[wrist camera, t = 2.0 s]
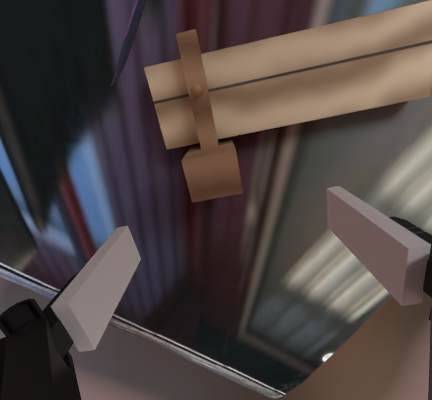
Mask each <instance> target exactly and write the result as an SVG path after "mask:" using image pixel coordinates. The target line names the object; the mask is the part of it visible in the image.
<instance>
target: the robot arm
mask: <svg viewBox="0 0 432 400" xmlns="http://www.w3.org/2000/svg"><path fill="white" fill-rule="evenodd" d="M327 216H328V227H329V228H330V229H331V230H332V232H333V233H334V234H335V235H336V236H337V237H338V238H339V239H340V240H341V241H342V242H343V243H344V244H345V246H346V247H347V248H348V249H349V250H350V251H351V252H352V253H353V254H354V255H355V256H356V257H357V258H358V260H359V261H360V262H361V263H362V264H363V265H364V266H365V267H366V268H367V269H368V270H369V271H370V272H371V273H372V275H373V276H374V277H375V278H376V279H377V280H378V281H379V282H380V283H381V284H382V285H383V286H384V287H385V289H386V290H387V291H388V292H389V293H390V294H391V295H392V296H393V297H394V298H395V299H396V300H397V301H398V303H399V304H400V305H402V306H404V305H411V304H418V303H422V299H423V292H426V293H427V294H428V295H429V296H430V297H431V298H432V235H430V234H428V233H427V232H424V231H423V230H422V229H420V228H418V227H416V226H415V225H413V224H412V223H410V222H408V221H407V220H404V219H400V218H397V217H387V216H385V215H384V214H382V213H381V212H379V211H377V210H376V209H374V208H373V207H371V206H370V205H368V204H367V203H365V202H363V201H362V200H360V199H359V198H357V197H356V196H354V195H353V194H351V193H349V192H348V191H346V190H345V189H343V188H342V187H340V186H336V187H331V188H327ZM140 260H141V258H140V255H139V253H138V250H137V248H136V245H135V243H134V240H133V238H132V235H131V232H130V230H129V227H128V226H123V227H118V228H116V229H115V231H114V232H113V233H112V234H111V235H110V237H109V238H108V239H107V240H106V241H105V243H104V244H103V245H102V246H101V247H100V248H99V250H98V251H97V252H96V253H95V254H94V256H93V257H92V258H91V259H90V260H89V262H88V263H87V264H86V265H85V266H84V267H83V269H82V270H81V271H80V272H78V273H77V274H76V275H75V276H73V277H72V278H71V279H70V280H69V281H68V282H67V283H66V284H65V286H64V288H62V289H61V290H60V291H59V294H57V295H56V296H55V297H54V298H53V299H52V301H51V302H50V303H49V304H48V305H47V306H46V308H45V309H44V310H43V311H42V310H41V309H40V307H39V306H38V304H37V303H36V301H35V300H34V299H27V300H23V301H21V302H19V303H16V304H15V305H13V306H11V307H10V308H8V309H7V310H6V311H5V312H3V313H2V314H1V315H0V329H1V330H2V332H3V333H4V334H5V336H6V337H4V338H1V339H0V400H81V397H80V392H79V387H78V383H77V379H76V374H75V369H74V364H73V360H72V356H71V355H70V353H69V352H68V351H69V349H70V348H71V346H72V344H73V343H74V345H75V346H76V348H77V349H78V351H79V352H82V351H89V350H95V349H96V346H97V345H98V343H99V341H100V339H101V337H102V335H103V333H104V331H105V329H106V327H107V325H108V323H109V321H110V319H111V317H112V315H113V313H114V311H115V309H116V307H117V305H118V303H119V301H120V299H121V298H122V296H123V294H124V292H125V290H126V288H127V286H128V284H129V282H130V280H131V278H132V276H133V274H134V272H135V270H136V268H137V266H138V264H139V262H140ZM429 320H430V321H431V331H430V333H431V334H430V363H429V393H428V400H432V305H431V310H430V316H429Z"/></svg>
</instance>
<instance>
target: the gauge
mask: <svg viewBox="0 0 432 400" xmlns="http://www.w3.org/2000/svg"><path fill="white" fill-rule="evenodd" d="M176 38H177V43H178V47H179V52H180V56H181V61H182V65H183V70H184V74H185V79H186V83H187V88H188V92H189V97H190V101H191V106H192V110H193V115H194V119H195V124H196V128H197V133H198V137H199V142H200V144H199V145H194V146H191V147H190V149H189V150H188V152H187V153H186V155H185V156H184V158H183V159H182V160H181V162H182V166H183V170H184V173H185V177H186V181H187V185H188V189H189V193H190V197H191V200H192V202H198V201H203V200H209V199H214V198H220V197H225V196H231V195H236V194H242V193H243V190H242V184H241V178H240V172H239V166H238V160H237V154H236V149H235V146H234V144H233V141H232V139H231V138H229V139H224V140H219V141H218V139H217V134H216V129H215V123H214V118H213V113H212V108H211V103H210V98H209V92H208V87H207V82H206V77H205V72H204V66H203V61H202V56H201V51H200V46H199V41H198V35H197V32H196V29H193V30H189V31H185V32H181V33H177V34H176Z"/></svg>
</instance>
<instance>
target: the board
mask: <svg viewBox="0 0 432 400" xmlns="http://www.w3.org/2000/svg"><path fill="white" fill-rule="evenodd" d="M201 56H202V61H203V66H204V72H205V77H206V82H207V87H208V92H209V98H210V103H211V108H212V113H213V118H214V123H215V129H216V134H217V139H222V138H227V137H232V136H237V135H242V134H247V133H252V132H257V131H262V130H267V129H272V128H277V127H282V126H287V125H292V124H297V123H302V122H306V121H311V120H316V119H321V118H326V117H331V116H336V115H341V114H346V113H351V112H356V111H361V110H366V109H371V108H376V107H381V106H386V105H391V104H396V103H401V102H406V101H411V100H416V99H420V98H425V97H430V93H431V86H432V0H430V1H426V2H422V3H417V4H413V5H409V6H405V7H400V8H396V9H392V10H388V11H383V12H379V13H375V14H370V15H366V16H362V17H358V18H353V19H349V20H345V21H341V22H336V23H332V24H328V25H324V26H319V27H315V28H311V29H306V30H302V31H298V32H294V33H289V34H285V35H281V36H277V37H272V38H268V39H264V40H260V41H255V42H251V43H247V44H242V45H238V46H234V47H230V48H225V49H221V50H217V51H213V52H208V53H204V54H201ZM144 70H145V73H146V77H147V80H148V84H149V88H150V91H151V95H152V98H153V102H154V106H155V109H156V113H157V117H158V120H159V124H160V127H161V131H162V135H163V138H164V142H165V146H166V149H167V150H168V149H173V148H178V147H183V146H188V145H193V144H197V143H200V142H199V137H198V133H197V128H196V124H195V119H194V115H193V110H192V106H191V101H190V97H189V92H188V88H187V83H186V79H185V74H184V70H183V65H182V61H181V59H178V60H174V61H170V62H166V63H161V64H157V65H153V66H149V67H144Z"/></svg>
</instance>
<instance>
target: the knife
mask: <svg viewBox="0 0 432 400" xmlns="http://www.w3.org/2000/svg"><path fill="white" fill-rule="evenodd" d="M145 1H146V0H136V1H135V4H134V7H133V10H132V13H131V16H130V20H129V23H128V26H127V29H126V34H125V39H124V42H123V45H122V49H121V53H120V57H119V61H118V64H117V68H116V71H115V74H114V78H113V81H112V84H111V86H112V85H113V84H114V83H115V81H116V80H117V79H118V77H119V75H120V74H121V72H122V69H123V67H124V65H125V63H126V60H127V57H128V55H129V52H130V49H131V45H132V42H133V39H134V36H135V33H136V30H137V27H138V24H139V21H140V18H141V15H142V10H143V9H144V6H145Z"/></svg>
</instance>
